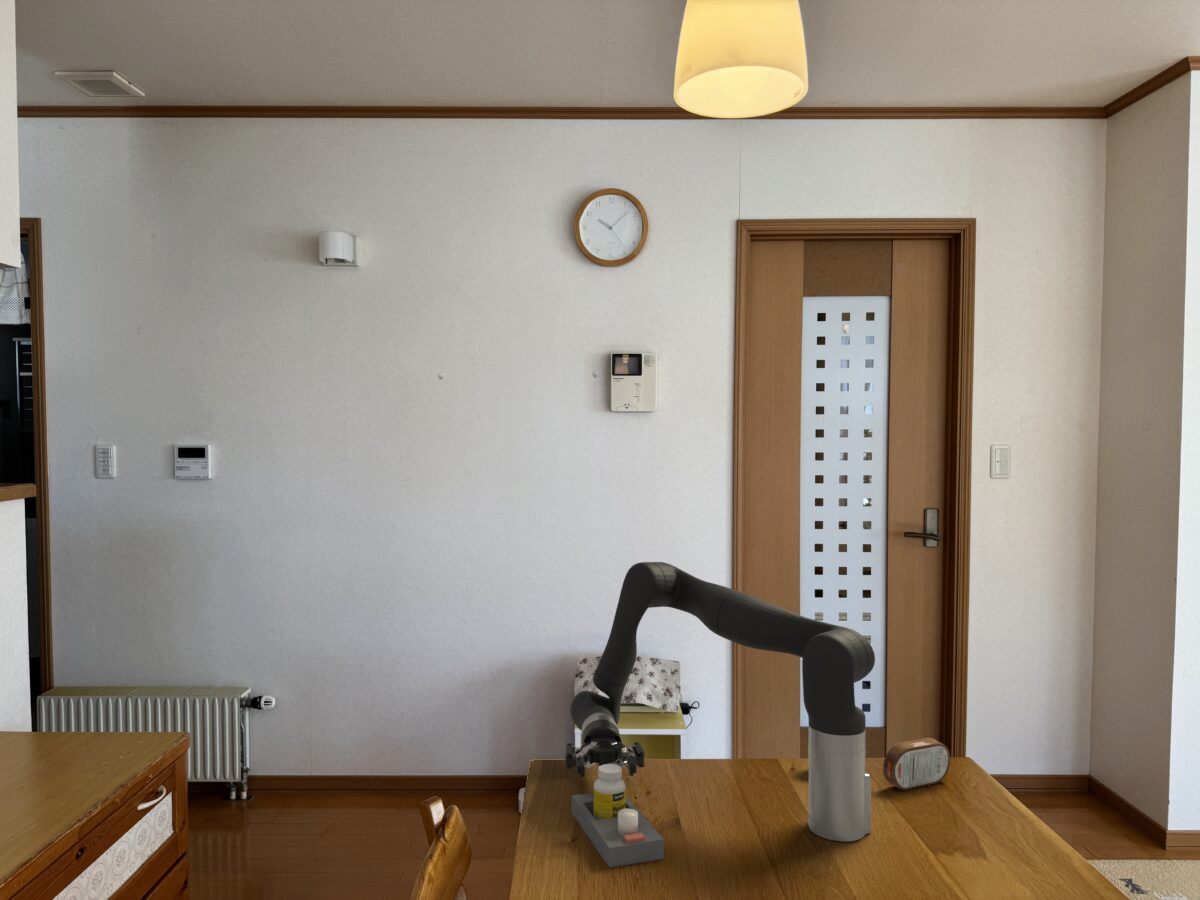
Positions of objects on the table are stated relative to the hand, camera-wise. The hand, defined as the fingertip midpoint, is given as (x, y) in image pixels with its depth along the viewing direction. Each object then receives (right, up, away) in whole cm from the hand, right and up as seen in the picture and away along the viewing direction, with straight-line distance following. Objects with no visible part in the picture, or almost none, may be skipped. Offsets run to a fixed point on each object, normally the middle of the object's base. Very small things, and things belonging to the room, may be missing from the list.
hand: (607, 770), depth 138 cm
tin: (+60, -9, +14) cm, 62 cm away
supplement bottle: (0, -8, -3) cm, 9 cm away
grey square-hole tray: (+1, -8, -6) cm, 10 cm away
